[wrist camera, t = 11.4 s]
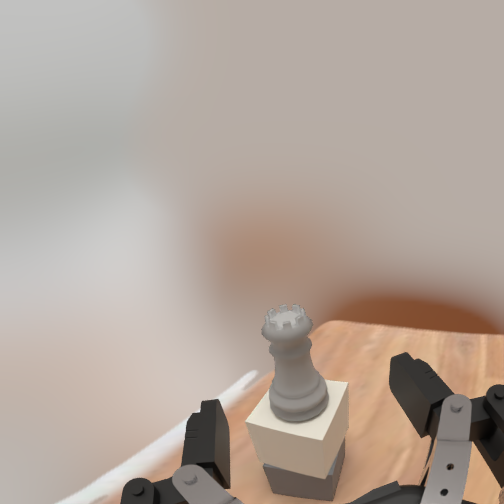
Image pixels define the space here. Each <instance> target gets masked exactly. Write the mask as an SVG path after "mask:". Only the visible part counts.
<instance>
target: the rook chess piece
mask: <svg viewBox="0 0 504 504" xmlns="http://www.w3.org/2000/svg"><path fill="white" fill-rule="evenodd" d="M279 308H280V312H278V313H276V312H275V309H273V308H272V309H271V310H269V311H268V312H267V313H268V315H266V316H265V322H266V323H265V324H264V326H263V328H262V335H263V336H264V337H265V338H266V339H267V340H269V341H270V342H271V345H270V347H269V352H270V353H271V354H272V356H273V357H274V361H275V377H274V379H273V380H272V384H271V386H270V388H269V400H270V408H271V410H272V411H273V412H274V414H275V415H277V416H279V417H281V418H283V419H285V420H288V421H297V422H298V421H303V420H308V419H310V418H312V417H314V416H316V415H318V414H319V413H320V412H321V411H322V410H323V409H324V408H325V407H326V406H327V403H328V400H329V394H328V391H327V390H328V388H327V385H326V381H325V379H324V378H323V377H322V376H321V375H320V374H319V372H318V371H317V370H316V369H315V368H314V366H313V363H312V360H311V356H310V349H311V346H312V342H311V340H310V339H309V338H308V337H307V335H308V334H309V332H310V331H311V329H312V326H313V323H312V320H311V319H310V318H309V317H308V316H306V314H305V310H304V308H303V309H300V305H296V304H293V306H292V310H288V309H287V305H286V304H285V305H280V306H279Z"/></svg>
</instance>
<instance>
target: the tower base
mask: <svg viewBox="0 0 504 504" xmlns="http://www.w3.org/2000/svg"><path fill="white" fill-rule="evenodd" d="M344 456H345V437H344V439H343V442H342V444H341V446H340V449H339V451H338V453H337V455H336V458H335V460H334V462H333V464H332V466H331V468H330V470H329V473H328V475H327V477H326V479H322V478H317V477H313V476H308V475H304V474H300V473H296V472H293V471H289V470H285V469H282V468H278V467H275V466H271V465H268V464H265V463H264V465H263V468H264V471H265V473H266V476H267V479H268V481H269V484H270V486H271V489H272V491H273V493H275V494H281V495H287V496H293V497H300V498H307V499H316V500H326V501H333V498H334V495H335V491H336V488H337V484H338V481H339V477H340V473H341V469H342V465H343V461H344Z"/></svg>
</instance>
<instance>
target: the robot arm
mask: <svg viewBox="0 0 504 504" xmlns="http://www.w3.org/2000/svg"><path fill="white" fill-rule="evenodd" d="M389 385H390V389H391V392H392V393H393V395H394V396H395V398H396V399H397V401H398V403H399V404H400V406H401V407H402V409H403V410H404V412H405V413H406V415H407V417H408V418H409V420H410V421H411V423H412V424H413V426H414V428H415V429H416V431H417V432H418V434H419V435H420V437H421V438H423V437H425V436H427V435H430V437H431V441H430V445H429V449H428V453H427V457H426V461H425V465H424V468H423V472H422V475H421V478H420V480H419V483H418V485H401V486H399V484H398V482H397V481H394V482H392V483H389V484H387V485H384V486H382V487H379V488H376V489H373V490H372V491H370V492H368V493H367V494H365V495H363V496H361V497H360V498H358V499H356V500H354V501H353V502H351V503H347V504H476V503H472V502H469V501H466V500H462V498H463V494H464V489H465V484H466V479H467V473H468V468H469V461H470V454H471V446H472V441H473V442H474V444H475V445H476V447H477V448H478V450H479V452H480V453H481V455H482V456H483V458H484V460H485V461H486V463H487V465H488V466H489V468H490V469H491V471H492V473H493V474H494V476H495V478H496V480H497V481H498V483H499V485H500V486H501V488H502V489H501V491H500V494H499V502H500V503H499V504H504V385H500V384H498V385H494V386H492V387H490V388H489V389H488V391H487V393H486V396H482V397H478V398H474V399H469V398H468V397H466V396H464V395H461V394H454V393H453V392H452V391H451V390H450V388H449V387H448V386H447V385H446V384H445V383H444V382H443V380H442V379H441V378H440V377H439V376H437V374H436V372H435V371H433V369H432V368H431V367H430V366H429V365H428V363H426V362H424V361H422V360H420V359H416V360H414V359H413V358H412V357H411V356H410V355H409V354H408V353H407V352H405V353H402V354H399V355H397V356H394V357H392V358H391V362H390V375H389ZM225 489H230V438H229V426H228V422H227V419H226V416H225V414H224V411H223V409H222V406H221V404H220V401H219V400H218V399H215V400H207V401H202V402H201V410H200V412H199V413H192V415H191V416H190V418H189V419H188V421H187V425H186V433H185V440H184V448H183V455H182V463H181V467H180V468H179V469H177V470H176V471H175V473H174V474H173V476H172V477H170V478H168V479H165V480H161V481H158V482H154V483H151V482H150V481H149V480H147V479H145V478H135V479H132V480H130V481H129V482H127V483H126V485H125V486H124V488H123V492H122V497H121V503H120V504H244V503H242V502H241V501H240V500H239V499H237V498H236V497H235V498H234V497H232V496H231V495H230V494H229V493H228V492H227V491H226V490H225Z"/></svg>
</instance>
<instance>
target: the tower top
mask: <svg viewBox="0 0 504 504" xmlns="http://www.w3.org/2000/svg"><path fill="white" fill-rule="evenodd" d="M325 381H326V385H327V388H328V390H327V391H328V394H329V400H328V403H327V406H326V407H325V408H324V409H323V410H322V411H321V412H320V413H319V414H318V415H316V416H314V417H312V418H310V419H308V420H303V421H298V422H297V421H288V420H285V419H283V418H281V417H279V416H277V415H275V414H274V412H273V411H272V410H271V408H270V400H269V390H268V391H267V393H266V394H265V395H264V397H263V398H262V400H261V401H260V402H259V404H258V405H257V406H256V408H255V409H254V410H253V412H252V413H251V414H250V416H249V417H248V418H247V419H246V421H245V423H246V426H247V428H248V431H249V434H250V437H251V439H252V442H253V445H254V448H255V450H256V453H257V456H258V458H259V461H260V462H262V463H265V464H268V465H271V466H275V467H278V468H282V469H285V470H289V471H293V472H296V473H300V474H304V475H308V476H313V477H317V478H322V479H326V477H327V475H328V473H329V470H330V468H331V466H332V464H333V462H334V460H335V458H336V455H337V453H338V451H339V449H340V446H341V444H342V442H343V439H344V437H345V435H346V432H347V430H348V427H349V393H348V382H339V381H331V380H325Z"/></svg>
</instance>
